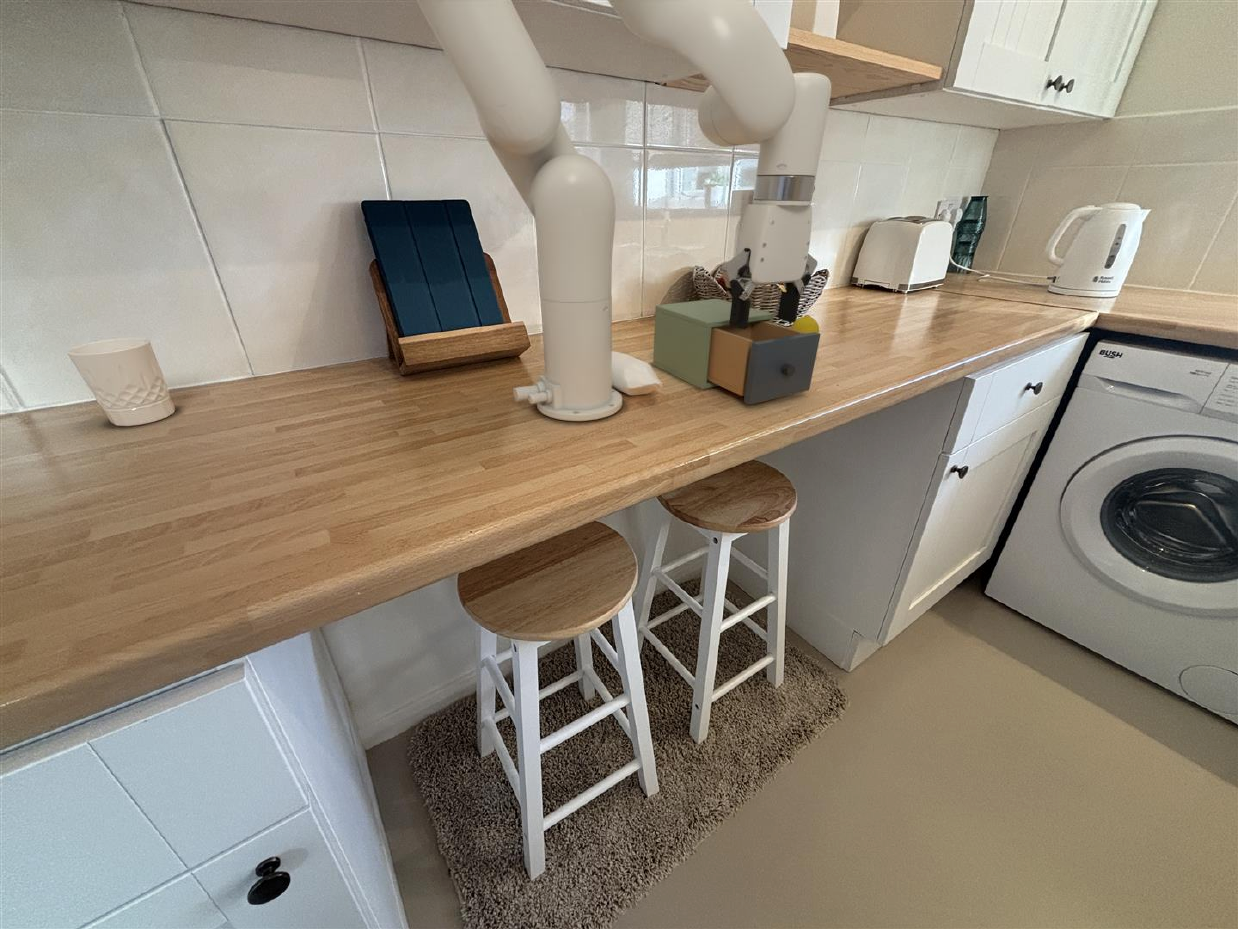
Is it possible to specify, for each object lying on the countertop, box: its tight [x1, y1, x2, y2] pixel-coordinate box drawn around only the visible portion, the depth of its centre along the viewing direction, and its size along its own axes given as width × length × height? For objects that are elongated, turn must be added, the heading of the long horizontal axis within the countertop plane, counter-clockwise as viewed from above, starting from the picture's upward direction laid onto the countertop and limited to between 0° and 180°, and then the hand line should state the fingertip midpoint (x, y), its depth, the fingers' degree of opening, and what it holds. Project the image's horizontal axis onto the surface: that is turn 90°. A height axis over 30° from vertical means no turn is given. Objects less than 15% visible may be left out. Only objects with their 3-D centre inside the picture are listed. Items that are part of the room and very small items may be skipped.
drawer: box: [707, 320, 822, 405], centre depth 77 cm, size 15×12×9 cm
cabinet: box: [652, 298, 775, 390], centre depth 85 cm, size 15×14×11 cm
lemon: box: [790, 314, 820, 334], centre depth 93 cm, size 6×6×8 cm
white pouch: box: [612, 350, 663, 396], centre depth 76 cm, size 6×12×6 cm, turn 34°
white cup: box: [66, 337, 176, 427], centre depth 66 cm, size 8×8×10 cm
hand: (762, 323), depth 73 cm, fingers open, 9 cm apart
